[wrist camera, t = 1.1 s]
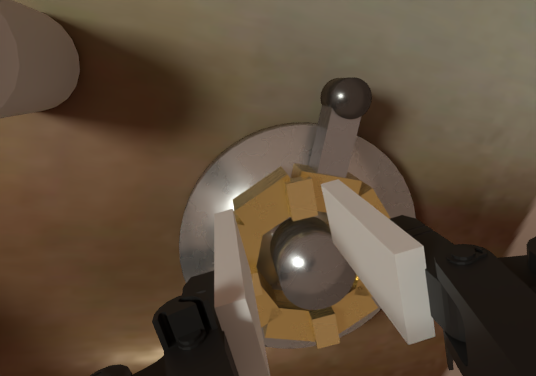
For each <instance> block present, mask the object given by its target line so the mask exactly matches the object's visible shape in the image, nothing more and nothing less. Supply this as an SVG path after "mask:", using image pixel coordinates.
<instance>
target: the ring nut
mask: <svg viewBox="0 0 536 376" xmlns="http://www.w3.org/2000/svg"><path fill="white" fill-rule="evenodd" d="M371 99H372V95H371V90H370V88H369V86H368V85H367V83H366V82H364V81H363V80H361V79H359V78H335V79H333V80H331V81H329V82H328V83H327V84H326V85H325V86H324V88H323V89H322V92H321V104H322V108H321V112H320V117H319V121H318V126H317V130H316V135H315V139H314V144H313V148H312V152H311V157H310V161H309V166H308V165H302V164H297V163H294V165H293V170H292V174H291V178H290V177H289V176H288V174H287V173H286V172H285V170H284V169H283V168H282V167H281V166H280V167H279V168H278V169H276V170H275V171H273V172H272V173H270V174H269V175H267V176H266V177H265V178H263V179H262V180H260V181H259V182H257V183H256V184H254V185H253V186H251V187H250V188H249V189H247V190H246V191H244V192H243V193H241V194H240V195H238V196H237V197H236V198H234V199H233V206H234V211H235V212H234V211H233V212H234V215H235V219H236V222H237V226H238V229H239V233H240V236H241V239H242V243H243V246H244V250H245V253H246V257H247V260H248V263H249V267H250V272H251V277H252V282H253V288H254V293H255V298H256V303H257V309H258V314H259V319H260V324H261V328H262V327H263V331H264V336H265V338H274V339H287V340H300V341H312V342H315V343H316V346H317V348H318V349H319V348H323V347H327V346H331V345H334V344H338V343H340V340H339V334H340V333H341V332H343V331H344V330H346V329H347V328H349V327H350V326H352V325H353V324H355V323H356V322H358V321H359V320H361V319H362V318H364V317H365V316H367V315H368V314H370V313H371V312H373V311H374V310H376V309H377V308H378V307H377V305H376V304H375V302H374V301H373V299H372V298H371V297H373V296H372V295H371V293H370V292H369V291H368V289H367V288H366V287H365V285H364V284H363V283H362V281H361V280H360V279H359V277H358V276H357V274H356V273H355V280H354V283H353V285H352V287H351V289H350V291H349V292H348V293H347V295H346V296H345V297H344V298H343V299H342V300H340V301H339V302H338V303H336V304H334V305H332V306H330V307H327V308H324V309H320V310H308V309H303V308H300V307H298V306H296V305H294V304H293V303H292V302H290V301H289V300H288V299H287V298H286V296H285V295H284V293H283V291H282V290H274V289H273V288H272V287H271V286H270V284H269V283H268V282H267V281H266V279H265V278H264V277H263V275H262V274H261V273H260V272H259V270H258V269H257V267H256V266H257V261H258V256H259V251H260V246H261V241H262V236H263V235H264V234H265V233H267V232H268V231H270V230H271V229H273V228H274V227H276V226H277V225H279V224H280V223H282V222H283V221H284V220H286V219H287V218H289V217H291V219H292V221H297V220H301V219H305V218H310V217H314V216H318V211H320V212H326V213H327V211H326V207H325V202H324V197H323V192H322V188H321V184H323V183H326V182H330V181H333V180H337V179H339V180H340V181H341V182H343V183H344V184H345V185H346V186H348V187H349V188H350V189H352V190H353V191H354V192H355V193H357V194H358V195H359V196H360V197H362V198H363V199H364V200H366V201H367V202H368V203H369V204H371V205H372V206H373V207H374V208H376V209H377V210H378V211H380V212H381V213H382V214H383V215H385V216H386V217H387V218H389V219H390V216H389V215H388V213H387V211H386V210H385V208H384V206H383V205H382V203H381V201H380V200H379V198H378V196H377V195H376V193H375V191H374V190H373V188H372V187H370V186H369V185H367V184H366V183H364V182H363V181H361V180H360V179H358V178H357V177H355V176H354V175H352V174H351V173H349V172H347V171H348V168H349V164H350V160H351V156H352V152H353V148H354V144H355V140H356V136H357V132H358V128H359V124H360V120H361V116H362V115H364V114H365V113H366V111H367V110H368V109H369V107H370V104H371ZM225 211H226V210H225Z"/></svg>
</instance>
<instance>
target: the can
mask: <svg viewBox="0 0 536 376" xmlns="http://www.w3.org/2000/svg"><path fill="white" fill-rule="evenodd" d="M79 73H80V66H79V55H78V53H77V50H76V48H75V45H74V43H73V40H72V39H71V37H70V36H69V35H68V34H67V32H66V31H65V30H64V28H63V27H62V26H61V25H60V24H59V23H57V22H56V21H55V20H53V19H52V18H51V17H49V16H48V15H47V14H45V13H42V12H40V11H37V10H35V9H32V8H30V7H27V6H25V5H22V4H20V3H17V2H15V1H12V0H0V118H4V117H10V116H16V115H22V114H28V113H33V112H39V111H44V110H47V109H51V108H54V107H57V106H58V105H59V104H61V103H62V102H64V101H65V100H66V99H68V98H69V96H70V95H71V93H72V92H73V90H74V89H75V87H76V85H77V81H78V77H79Z"/></svg>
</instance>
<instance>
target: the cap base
mask: <svg viewBox="0 0 536 376" xmlns="http://www.w3.org/2000/svg"><path fill="white" fill-rule="evenodd" d="M317 126H318V124H317V123H287V124H281V125H275V126H272V127H268V128H265V129H261V130H259V131H257V132H254V133H252V134H250V135H247V136H245V137H244V138H242V139H240V140H239V141H237V142H235V143H234V144H232V145H231V146H229V147H228V148H227V149H226V150H224V151H223V152H222V153H221V154H219V155H218V156H217V157H216V158H215V159H214V161H213V162H212V163H211V164H210V165H209V166H208V167H207V168H206V170H205V171H204V172H203V174H202V175H201V176H200V178H199V179H198V181H197V183H196V185H195V186H194V188H193V190H192V192H191V194H190V197H189V199H188V202H187V205H186V207H185V212H184V216H183V221H182V225H181V230H180V241H179V251H180V262H181V267H182V271H183V276H184V278H185V281H186V283H187V282H188V280H189V279H190V278H191V277H193V276H197V275H200V274H203V273H207V272H210V271H214V214H215V213H219V212H222V211H225V210H230V209H233V211H234V206H233V199H234V198H236V197H237V196H238V195H240V194H241V193H243V192H244V191H246V190H247V189H249V188H250V187H251V186H253V185H254V184H256V183H257V182H259V181H260V180H262V179H263V178H265V177H266V176H267V175H269V174H270V173H272V172H273V171H275V170H276V169H278V168H279V167H280V166H281V167H282V168H283V169H284V170H285V172H286V173H287V174H288V176H289V177H290V178H291V174H292V170H293V165H294V163H297V164H302V165H308V166H309V161H310V157H311V152H312V148H313V144H314V139H315V135H316V130H317ZM347 172H349V173H351V174H352V175H354V176H355V177H357V178H358V179H360V180H361V181H363V182H364V183H366V184H367V185H369V186H370V187H372V188H373V190H374V191H375V193H376V195H377V196H378V198H379V200H380V201H381V203H382V205H383V206H384V208H385V210H386V211H387V213H388V215H389V216H390V218H393V217H397V216H400V215H404V216H408V217H412V218H416V217H415V210H414V204H413V201H412V198H411V194H410V191H409V189H408V187H407V185H406V182H405V180H404V178H403V177H402V175H401V174H400V172H399V171H398V169H397V168H396V166H395V165H394V164H393V163H392V162H391V160H390V159H389V158H388V157H387V156H386V155H385V154H384V153H383V152H381V151H380V150H379V149H378V148H377V147H375V146H374V145H373V144H371V143H369V142H368V141H366V140H364V139H363V138H361V137H359V136H356V140H355V144H354V148H353V152H352V156H351V160H350V164H349V168H348V171H347ZM234 212H235V211H234ZM256 267H257V269H258V270H259V272H260V273H261V274H262V275H263V277H264V278H265V279H266V281H267V282H268V283H269V284H270V286H271V287H272V288H273V289H274V290H282V291H283V293H284V295H285V296H286V298H287V299H288V300H289V301H290V302H292V303H293V304H294V305H296V306H298V307H300V308H303V309H308V310H320V309H324V308H327V307H330V306H332V305H334V304H336V303H338V302H339V301H340V300H342V299H343V298H344V297H345V296H346V295H347V293H348V292H349V291H350V289H351V287H352V285H353V283H354V280H355V272H354V270H353V269H352V268H351V266H350V265H349V264H348V262H347V261H346V260H345V258H344V257H343V256H342V254H341V253H340V251H339V250H338V249H337V247H336V246H335V245H334V243H333V240H332V235H331V230H330V226H329V221H328V216H327V213H326V212H320V211H318V216H314V217H310V218H305V219H301V220H297V221H292V219H291V217H289V218H287V219H286V220H284V221H283V222H282V223H280V224H279V225H277V226H276V227H274V228H273V229H271V230H270V231H268V232H267V233H265V234H264V235H263V236H262V241H261V246H260V251H259V256H258V261H257V266H256ZM371 298H372V299H373V301H374V302H375V304H376V305H377V307H378V308H377V309H376V310H374V311H373V312H371V313H370V314H368V315H367V316H365V317H364V318H362V319H361V320H359V321H358V322H356V323H355V324H353V325H352V326H350V327H349V328H347V329H346V330H344V331H343V332H341V333H340V334H339V337H342V336H344V335H346V334H348V333H350V332H352V331H353V330H355V329H357V328H358V327H360V326H361V325H363V324H364V323H365V322H367V321H368V320H369V319H371V318H372V317H373V316H374V315H375V314H376V313H377V312H379V311H380V310H381V309H382V308H381V307H380V306H379V304H378V303H377V302H376V300H375V299H374V298H373V297H371ZM261 329H262V335H263V340H264V345H265V347H273V348H303V347H310V346H315V345H316V343H315V342H312V341H300V340H287V339H274V338H265V336H264V331H263V327H262V328H261Z"/></svg>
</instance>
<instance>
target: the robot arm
mask: <svg viewBox="0 0 536 376" xmlns="http://www.w3.org/2000/svg"><path fill="white" fill-rule="evenodd" d="M321 188H322V192H323V197H324V202H325V207H326V211H327V216H328V221H329V226H330V230H331V235H332V240H333V243H334V245H335V246H336V247H337V249H338V250H339V251H340V253H341V254H342V256H343V257H344V258H345V260H346V261H347V262H348V264H349V265H350V266H351V268H352V269H353V270H354V272H355V273H356V274H357V276H358V277H359V279H360V280H361V281H362V283H363V284H364V285H365V287H366V288H367V289H368V291H369V292H370V293H371V295H372V296H373V298H374V299H375V300H376V302H377V303H378V304H379V306H380V307H381V308H382V310H383V311H384V312H385V314H386V315H387V316H388V318H389V319H390V321H391V322H392V323H393V325H394V326H395V327H396V329H397V330H398V331H399V333H400V334H401V335H402V337H403V338H404V340H405V341H406V342H407V344H408V345H410V344H413V343H416V342H419V341H423V340H426V339H429V338H432V337H435V330H434V323H433V319H434V320H435V321H436V322H437V323H438V324H439V325H440V326H441V327H442V328H443V332H444V341H445V349H446V357H447V364H448V368H449V370H453V360H454V361H455V363H456V365H457V367H458V368H459V370H460V372H461V373H462V375H463V376H536V237H534V238H532V239H530V240H529V242H528V244H527V255H524V256H514V257H504V258H497V257H496V256H494V255H493V254H492V253H491V252H490V251H488V250H486V249H485V248H483V247H479V246H475V245H468V244H458V245H454V244H453V243H451V242H450V241H448V240H447V239H445V238H444V237H442V236H441V235H439V234H438V233H436V232H435V231H433V230H432V229H430V228H429V227H428V226H425V224H423V223H422V222H420V221H419V220H417V219H416V218H412V217H408V216H404V215H400V216H397V217H393V218H390V219H389V218H387V217H386V216H385V215H383V214H382V213H381V212H380V211H378V210H377V209H376V208H374V207H373V206H372V205H371V204H369V203H368V202H367V201H366V200H364V199H363V198H362V197H360V196H359V195H358V194H357V193H355V192H354V191H353V190H352V189H350V188H349V187H348V186H346V185H345V184H344V183H343V182H341V181H340V180H339V179H337V180H333V181H330V182H326V183H323V184H321ZM152 323H153V325H154V328H155V330H156V333H157V335H158V338H159V340H160V343H161V345H162V347H163V350H164V356H163V357H162V358H160V359H159V360H158V361H156V362H155V363H153V364H152V365H150V366H148V367H146V368H145V369H143V370H141V371H139V372H137V373H135V374H133V375H132V373H131V371H130V370H129V368H128V367H127V366H124V365H112V366H108V367H106V368H103V369H100V370H98V371H96V372H95V373H94V374H91V375H90V376H270V371H269V366H268V361H267V356H266V350H265V345H264V340H263V335H262V329H261V324H260V319H259V314H258V309H257V303H256V298H255V293H254V288H253V282H252V277H251V272H250V267H249V263H248V260H247V257H246V253H245V250H244V246H243V243H242V239H241V236H240V233H239V229H238V226H237V222H236V219H235V215H234V212H233V209H230V210H226V211H222V212H219V213H215V214H214V271H210V272H207V273H203V274H200V275H197V276H193V277H191V278H190V279H189V280H188V282H187V283H186V284H185V286H184V287H183V293H182V295H181V296H178V297H176V298H174V299H172V300H170V301H168V302H167V303H165V304H164V305H163V306H161V307H160V308H159V309H158V311H157V312H156V313H155V314H154V317H153V321H152Z"/></svg>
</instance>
